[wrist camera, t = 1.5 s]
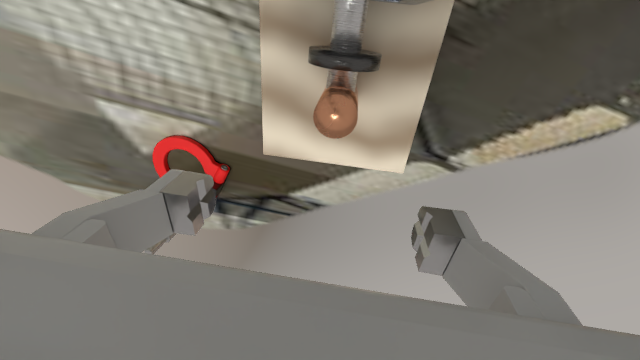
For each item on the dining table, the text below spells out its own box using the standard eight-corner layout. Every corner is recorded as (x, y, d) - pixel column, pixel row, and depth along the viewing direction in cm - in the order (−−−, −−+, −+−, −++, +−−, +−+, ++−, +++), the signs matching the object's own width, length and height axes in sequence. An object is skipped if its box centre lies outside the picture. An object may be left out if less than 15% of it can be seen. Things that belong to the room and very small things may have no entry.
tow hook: (152, 170, 36) (213, 206, 37) (54, 234, 25) (147, 281, 26) (167, 120, 32) (235, 162, 33) (57, 169, 20) (167, 229, 22)
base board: (259, -157, 19) (254, -166, 18) (492, -142, 18) (499, -150, 17) (266, 150, 31) (263, 154, 30) (401, 169, 30) (403, 173, 29)
